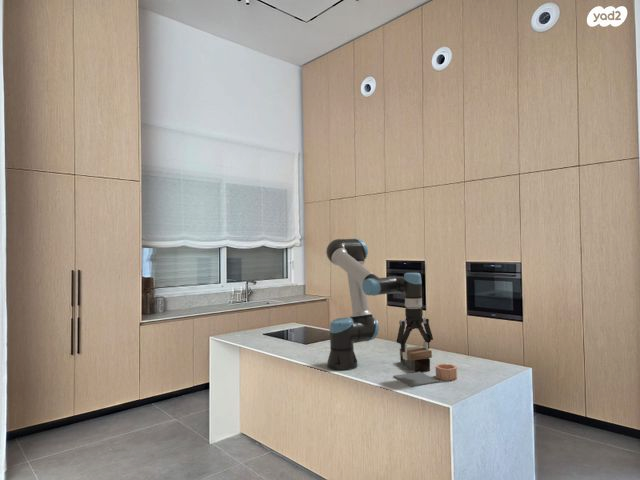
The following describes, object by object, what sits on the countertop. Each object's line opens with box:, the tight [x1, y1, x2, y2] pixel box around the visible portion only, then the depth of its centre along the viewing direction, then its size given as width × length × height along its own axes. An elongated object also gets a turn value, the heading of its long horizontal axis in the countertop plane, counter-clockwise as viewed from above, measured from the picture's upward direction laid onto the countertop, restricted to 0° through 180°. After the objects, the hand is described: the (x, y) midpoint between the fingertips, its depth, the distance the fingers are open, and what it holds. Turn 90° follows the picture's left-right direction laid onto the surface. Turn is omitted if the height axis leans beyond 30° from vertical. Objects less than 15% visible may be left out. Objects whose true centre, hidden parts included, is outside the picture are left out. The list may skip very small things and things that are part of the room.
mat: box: [393, 371, 440, 388], centre depth 188 cm, size 15×14×1 cm
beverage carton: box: [399, 355, 431, 373], centre depth 209 cm, size 8×19×7 cm, turn 11°
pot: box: [435, 363, 458, 381], centre depth 190 cm, size 9×9×5 cm
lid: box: [399, 345, 433, 360], centre depth 189 cm, size 10×10×3 cm
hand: (415, 357), depth 189 cm, fingers closed on lid, 10 cm apart
